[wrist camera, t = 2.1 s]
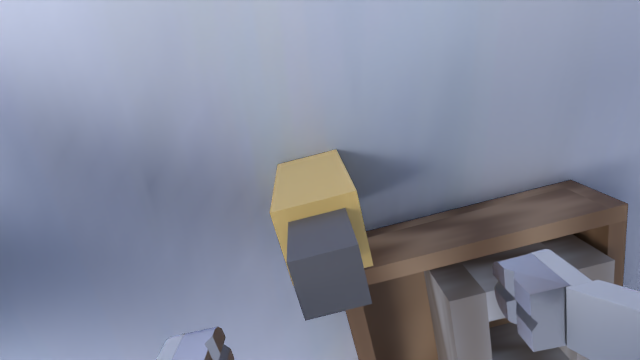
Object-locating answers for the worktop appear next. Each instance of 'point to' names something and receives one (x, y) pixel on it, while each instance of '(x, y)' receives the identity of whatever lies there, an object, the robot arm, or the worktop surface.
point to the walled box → (479, 272)
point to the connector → (321, 234)
